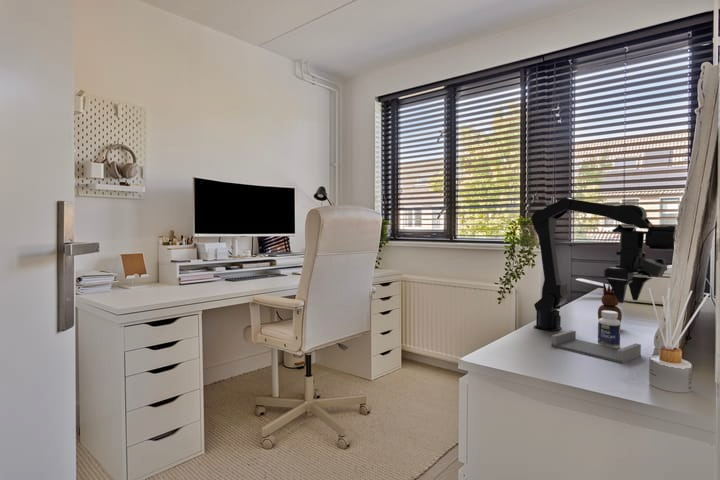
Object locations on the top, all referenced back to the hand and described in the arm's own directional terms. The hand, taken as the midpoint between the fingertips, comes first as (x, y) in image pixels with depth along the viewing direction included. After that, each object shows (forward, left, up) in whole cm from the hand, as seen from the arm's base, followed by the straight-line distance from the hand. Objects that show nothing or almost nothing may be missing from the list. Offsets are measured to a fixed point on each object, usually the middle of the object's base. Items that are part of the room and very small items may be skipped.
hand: (628, 301), depth 118 cm
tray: (-1, -17, -12) cm, 21 cm away
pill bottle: (-1, -9, -12) cm, 15 cm away
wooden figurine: (-11, +15, -12) cm, 23 cm away
